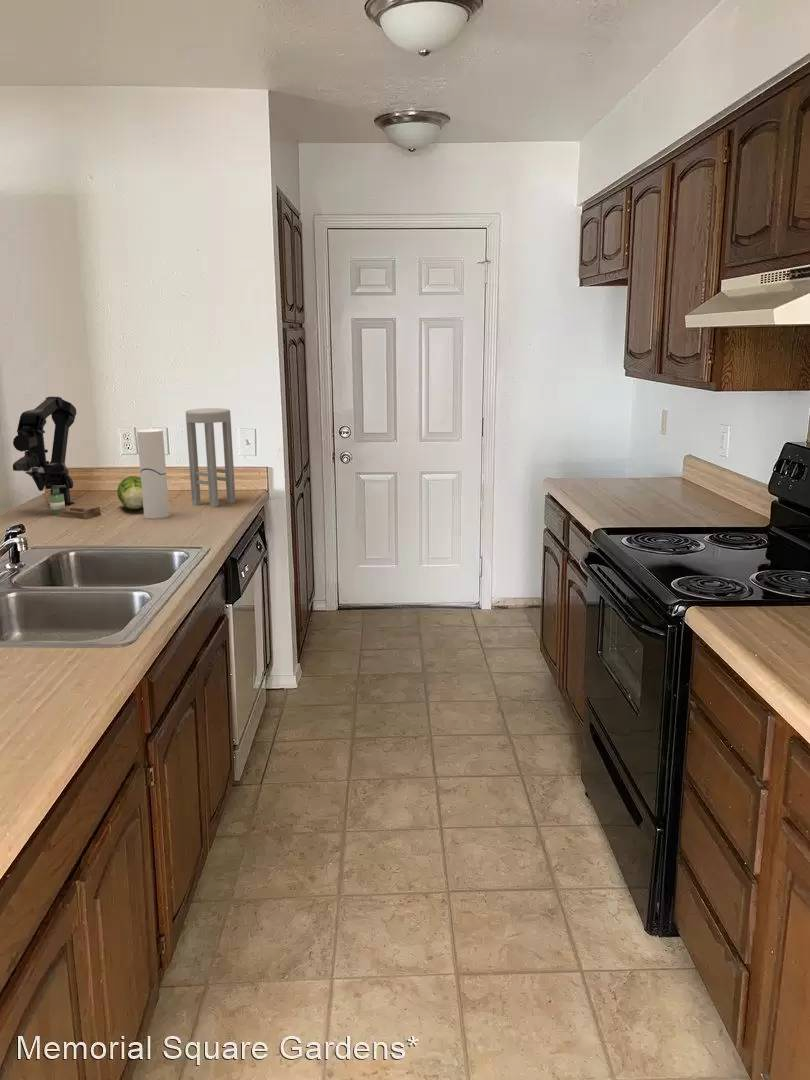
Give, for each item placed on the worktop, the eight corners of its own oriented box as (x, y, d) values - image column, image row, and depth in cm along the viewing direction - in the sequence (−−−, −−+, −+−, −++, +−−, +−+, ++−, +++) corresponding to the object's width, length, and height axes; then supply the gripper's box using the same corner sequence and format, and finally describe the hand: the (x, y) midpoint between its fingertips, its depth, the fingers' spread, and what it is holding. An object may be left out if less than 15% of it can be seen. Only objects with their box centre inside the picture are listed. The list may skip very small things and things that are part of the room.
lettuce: (119, 516, 295) (116, 484, 292) (118, 505, 314) (115, 475, 311) (153, 513, 299) (151, 482, 296) (150, 503, 318) (147, 473, 315)
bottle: (58, 512, 302) (55, 484, 300) (68, 513, 301) (65, 485, 298) (48, 514, 298) (45, 487, 296) (58, 515, 296) (55, 488, 294)
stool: (214, 509, 305) (208, 412, 297) (184, 505, 313) (177, 410, 305) (243, 501, 318) (238, 409, 310) (213, 498, 326) (207, 407, 318)
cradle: (73, 512, 301) (72, 504, 300) (100, 515, 297) (99, 506, 296) (59, 516, 295) (58, 508, 294) (86, 519, 291) (86, 510, 290)
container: (162, 519, 289) (155, 432, 282) (139, 518, 291) (132, 431, 284) (173, 513, 298) (167, 429, 290) (151, 513, 299) (144, 429, 292)
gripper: (-3, 449, 292) (3, 493, 296) (38, 451, 286) (44, 496, 290) (22, 445, 302) (27, 487, 306) (62, 447, 296) (67, 490, 300)
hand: (41, 490), depth 300 cm, fingers closed
